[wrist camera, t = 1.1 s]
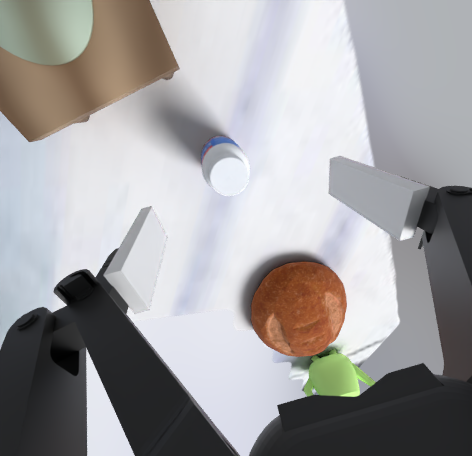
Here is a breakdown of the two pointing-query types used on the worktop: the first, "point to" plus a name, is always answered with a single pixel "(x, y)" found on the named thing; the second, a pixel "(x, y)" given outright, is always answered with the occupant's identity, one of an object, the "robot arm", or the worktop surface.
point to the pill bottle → (225, 166)
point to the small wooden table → (75, 59)
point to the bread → (299, 308)
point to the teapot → (335, 376)
